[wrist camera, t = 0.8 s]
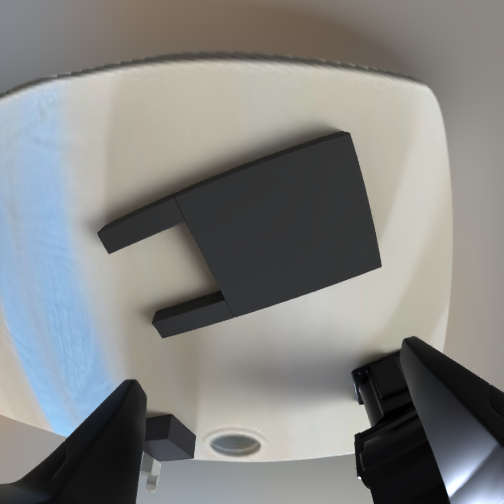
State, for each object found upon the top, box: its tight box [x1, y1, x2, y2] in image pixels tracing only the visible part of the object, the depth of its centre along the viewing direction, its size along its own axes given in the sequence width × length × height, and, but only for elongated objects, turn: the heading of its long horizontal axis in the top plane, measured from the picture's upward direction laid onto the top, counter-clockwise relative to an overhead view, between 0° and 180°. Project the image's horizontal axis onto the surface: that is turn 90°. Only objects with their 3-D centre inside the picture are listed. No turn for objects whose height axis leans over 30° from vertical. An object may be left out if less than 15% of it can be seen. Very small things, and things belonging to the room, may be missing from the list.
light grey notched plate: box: [141, 452, 161, 492], centre depth 34 cm, size 6×1×10 cm
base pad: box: [97, 131, 382, 338], centre depth 21 cm, size 10×18×2 cm, turn 111°
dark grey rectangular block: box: [143, 415, 196, 462], centre depth 31 cm, size 5×5×4 cm
